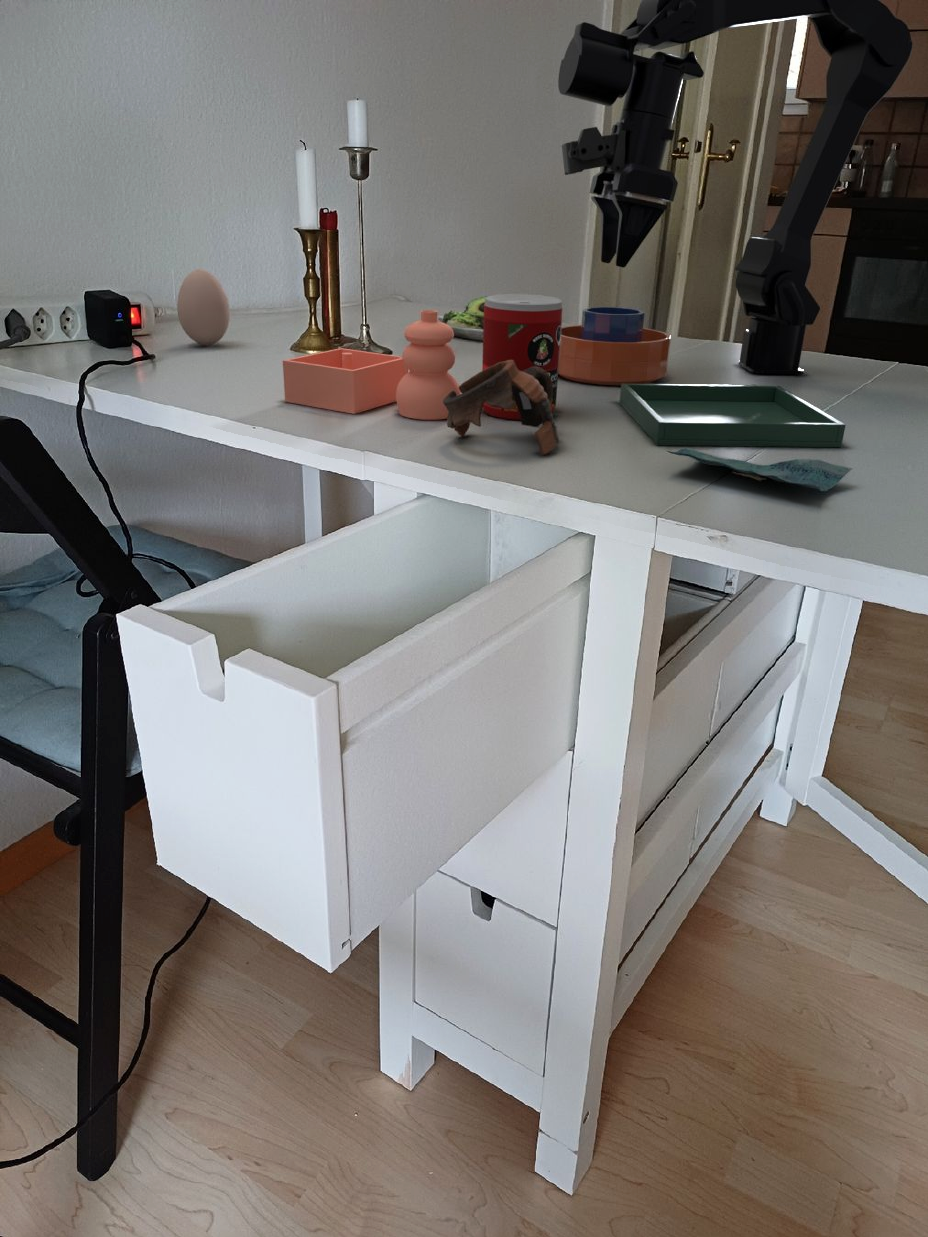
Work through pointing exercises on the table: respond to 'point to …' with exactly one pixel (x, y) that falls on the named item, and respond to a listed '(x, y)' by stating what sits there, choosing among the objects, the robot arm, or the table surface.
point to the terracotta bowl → (613, 358)
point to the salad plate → (467, 320)
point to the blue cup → (612, 324)
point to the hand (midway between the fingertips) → (612, 264)
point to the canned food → (522, 338)
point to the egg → (203, 307)
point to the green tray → (728, 416)
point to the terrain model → (780, 470)
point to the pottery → (379, 375)
